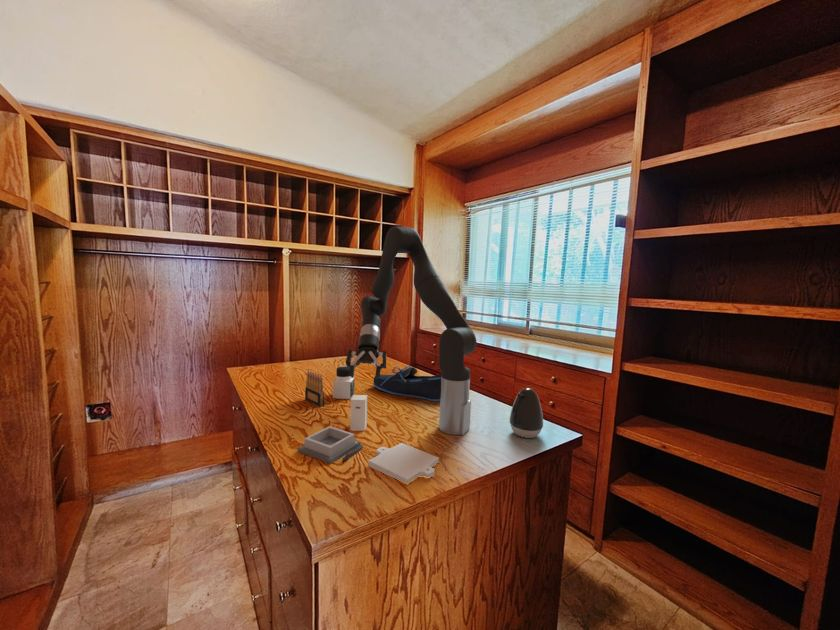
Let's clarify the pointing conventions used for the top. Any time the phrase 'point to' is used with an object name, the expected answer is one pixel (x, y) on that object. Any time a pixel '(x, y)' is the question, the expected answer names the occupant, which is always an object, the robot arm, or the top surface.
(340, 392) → the medicine bottle
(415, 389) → the moccasin
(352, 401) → the charger
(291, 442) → the top surface
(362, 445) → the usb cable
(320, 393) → the pencil set
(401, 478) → the mounting plate
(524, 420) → the dark grey egg shape
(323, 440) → the grey square tray
